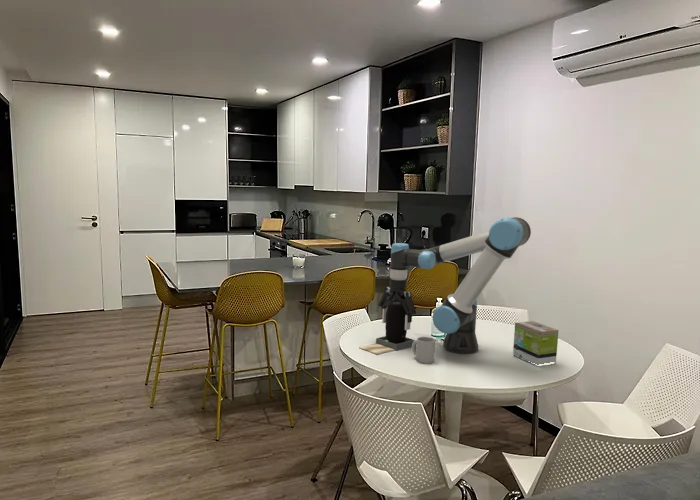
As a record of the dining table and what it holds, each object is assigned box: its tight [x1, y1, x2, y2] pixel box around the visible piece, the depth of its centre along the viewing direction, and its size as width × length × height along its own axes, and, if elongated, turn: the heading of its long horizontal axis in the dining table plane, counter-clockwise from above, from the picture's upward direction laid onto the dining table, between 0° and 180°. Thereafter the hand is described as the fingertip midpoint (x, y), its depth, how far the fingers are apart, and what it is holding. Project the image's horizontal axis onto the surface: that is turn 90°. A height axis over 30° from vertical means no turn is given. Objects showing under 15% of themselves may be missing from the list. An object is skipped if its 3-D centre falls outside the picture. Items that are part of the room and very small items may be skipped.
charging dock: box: [375, 335, 415, 351], centre depth 228 cm, size 12×12×3 cm
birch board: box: [358, 342, 395, 356], centre depth 220 cm, size 11×10×1 cm
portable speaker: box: [385, 299, 408, 344], centre depth 227 cm, size 9×9×20 cm
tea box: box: [512, 320, 559, 365], centre depth 212 cm, size 15×10×15 cm
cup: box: [411, 336, 436, 365], centre depth 208 cm, size 7×10×9 cm
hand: (395, 326), depth 228 cm, fingers open, 13 cm apart
